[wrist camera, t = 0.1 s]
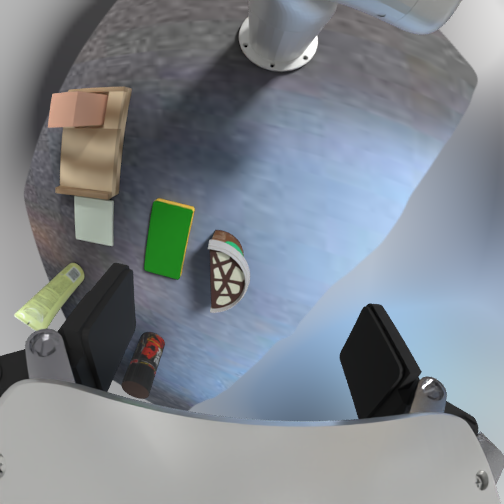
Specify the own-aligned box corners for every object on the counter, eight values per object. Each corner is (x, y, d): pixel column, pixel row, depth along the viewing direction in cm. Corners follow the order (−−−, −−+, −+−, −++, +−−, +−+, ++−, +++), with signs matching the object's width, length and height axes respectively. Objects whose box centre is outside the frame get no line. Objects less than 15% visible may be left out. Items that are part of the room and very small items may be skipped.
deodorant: (136, 336, 59) (116, 384, 45) (153, 328, 58) (133, 378, 44) (152, 352, 61) (136, 400, 47) (169, 345, 60) (155, 395, 46)
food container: (248, 284, 53) (248, 316, 44) (216, 283, 52) (210, 315, 43) (251, 223, 47) (252, 246, 38) (215, 221, 47) (207, 245, 38)
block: (86, 96, 35) (52, 93, 26) (109, 95, 36) (78, 91, 27) (81, 124, 37) (47, 127, 28) (105, 124, 38) (72, 126, 29)
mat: (76, 195, 44) (74, 196, 44) (113, 200, 45) (112, 201, 45) (77, 237, 48) (75, 238, 47) (113, 245, 49) (112, 246, 48)
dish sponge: (195, 206, 47) (193, 210, 44) (181, 274, 52) (179, 280, 50) (157, 197, 46) (153, 200, 43) (147, 264, 51) (143, 270, 49)
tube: (72, 284, 53) (27, 337, 35) (62, 265, 51) (12, 315, 33) (88, 279, 52) (42, 336, 34) (78, 259, 50) (26, 312, 32)
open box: (77, 90, 36) (64, 89, 32) (131, 88, 37) (120, 85, 33) (68, 187, 43) (55, 192, 39) (118, 193, 45) (107, 199, 40)
